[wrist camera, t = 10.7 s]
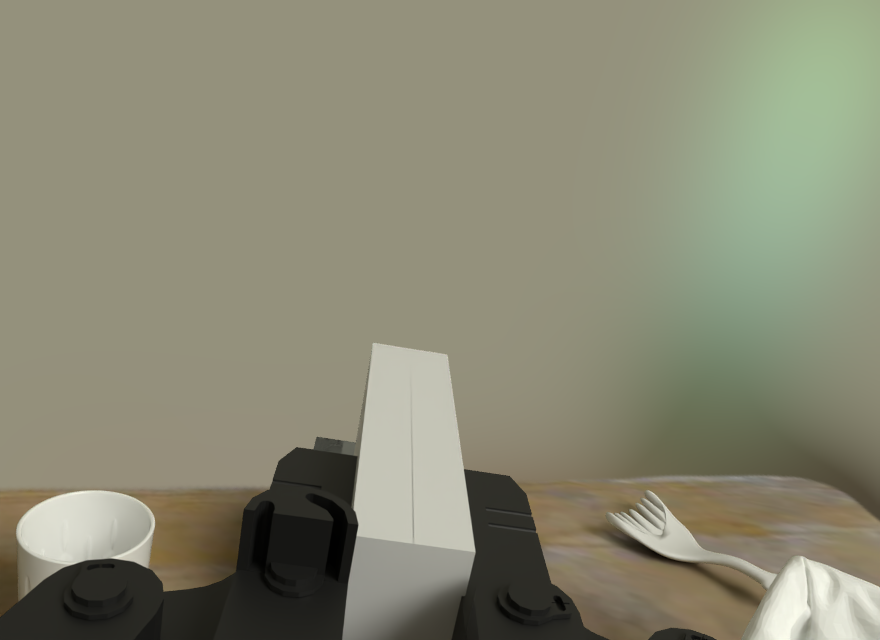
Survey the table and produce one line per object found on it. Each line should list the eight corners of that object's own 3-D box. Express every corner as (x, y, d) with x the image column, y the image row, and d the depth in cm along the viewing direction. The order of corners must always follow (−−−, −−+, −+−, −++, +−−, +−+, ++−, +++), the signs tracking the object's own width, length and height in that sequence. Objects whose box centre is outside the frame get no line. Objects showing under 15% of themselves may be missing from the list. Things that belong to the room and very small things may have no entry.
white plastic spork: (639, 512, 84) (648, 485, 83) (977, 702, 64) (993, 669, 63) (596, 538, 77) (605, 509, 76) (957, 758, 58) (975, 722, 57)
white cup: (-13, 653, 50) (-12, 521, 47) (96, 596, 56) (103, 477, 53) (61, 721, 46) (68, 582, 43) (169, 651, 53) (181, 526, 50)
